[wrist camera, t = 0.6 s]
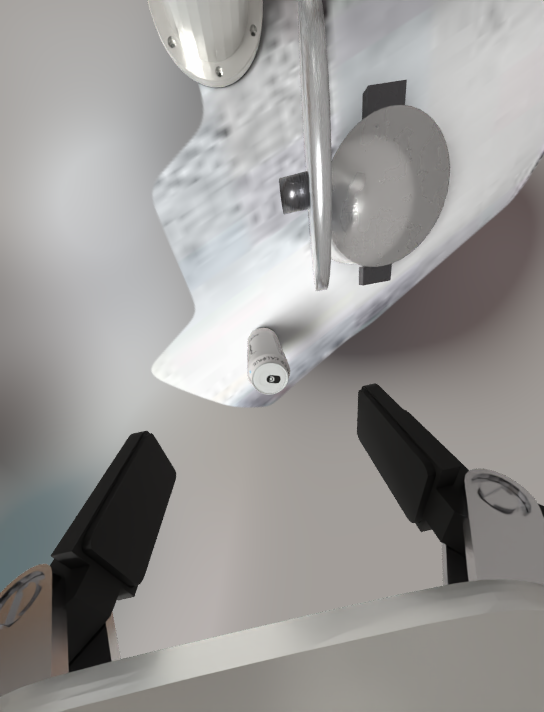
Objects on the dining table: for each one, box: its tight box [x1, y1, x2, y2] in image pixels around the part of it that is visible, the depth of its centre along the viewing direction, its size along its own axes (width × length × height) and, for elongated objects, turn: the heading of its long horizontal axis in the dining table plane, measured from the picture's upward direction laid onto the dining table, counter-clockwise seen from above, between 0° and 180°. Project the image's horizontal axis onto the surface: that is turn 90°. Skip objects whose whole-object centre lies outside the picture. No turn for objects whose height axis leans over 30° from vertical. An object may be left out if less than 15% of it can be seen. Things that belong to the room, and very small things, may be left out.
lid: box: [279, 0, 332, 291], centre depth 18 cm, size 17×18×4 cm
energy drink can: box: [247, 328, 290, 394], centre depth 34 cm, size 6×6×15 cm
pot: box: [308, 80, 450, 285], centre depth 29 cm, size 21×18×8 cm
